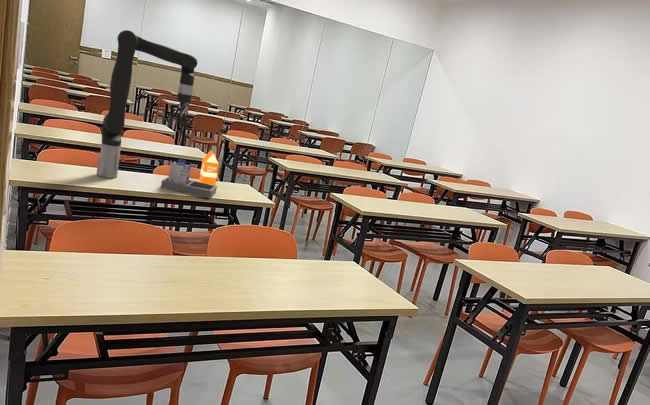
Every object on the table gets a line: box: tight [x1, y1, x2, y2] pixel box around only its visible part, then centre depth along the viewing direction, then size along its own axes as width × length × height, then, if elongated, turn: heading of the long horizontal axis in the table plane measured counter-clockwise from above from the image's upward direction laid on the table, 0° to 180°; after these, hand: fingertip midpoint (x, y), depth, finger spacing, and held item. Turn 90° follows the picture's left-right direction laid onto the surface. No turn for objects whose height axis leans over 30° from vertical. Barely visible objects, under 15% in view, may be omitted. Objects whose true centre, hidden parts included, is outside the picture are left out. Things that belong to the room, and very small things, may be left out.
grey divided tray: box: [160, 176, 218, 199], centre depth 265 cm, size 27×14×4 cm, turn 91°
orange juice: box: [198, 150, 219, 185], centre depth 283 cm, size 8×9×20 cm
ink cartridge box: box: [168, 158, 192, 185], centre depth 264 cm, size 10×6×14 cm, turn 91°
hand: (180, 122), depth 265 cm, fingers open, 8 cm apart
